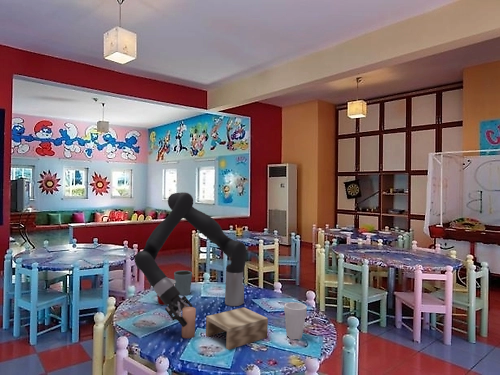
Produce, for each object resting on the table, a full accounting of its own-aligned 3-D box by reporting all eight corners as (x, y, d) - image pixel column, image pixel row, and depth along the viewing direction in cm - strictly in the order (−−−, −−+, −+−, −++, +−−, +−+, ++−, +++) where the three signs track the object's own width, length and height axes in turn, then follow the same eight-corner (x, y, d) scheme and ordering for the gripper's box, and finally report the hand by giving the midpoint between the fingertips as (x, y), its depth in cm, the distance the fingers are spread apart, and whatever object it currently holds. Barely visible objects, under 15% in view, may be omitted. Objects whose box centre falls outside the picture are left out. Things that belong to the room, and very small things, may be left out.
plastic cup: (169, 307, 180) (170, 283, 180) (149, 305, 182) (150, 281, 182) (178, 301, 191) (179, 278, 191) (159, 299, 193) (160, 276, 193)
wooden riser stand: (243, 325, 161) (244, 307, 161) (267, 337, 149) (267, 318, 149) (205, 335, 149) (206, 316, 149) (228, 349, 136) (229, 328, 136)
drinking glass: (194, 292, 208) (195, 271, 208) (185, 297, 198) (186, 275, 198) (179, 290, 211) (179, 269, 211) (169, 294, 201) (170, 273, 201)
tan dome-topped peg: (190, 331, 152) (191, 305, 152) (197, 336, 147) (198, 309, 147) (179, 334, 148) (180, 308, 148) (185, 339, 144) (186, 312, 144)
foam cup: (291, 343, 144) (292, 310, 144) (278, 334, 153) (280, 303, 153) (310, 339, 149) (311, 308, 149) (297, 330, 157) (298, 301, 157)
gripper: (163, 289, 143) (188, 322, 140) (180, 281, 157) (203, 310, 154) (151, 301, 145) (175, 334, 142) (169, 291, 158) (191, 321, 155)
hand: (190, 321), depth 148 cm, fingers open, 8 cm apart
